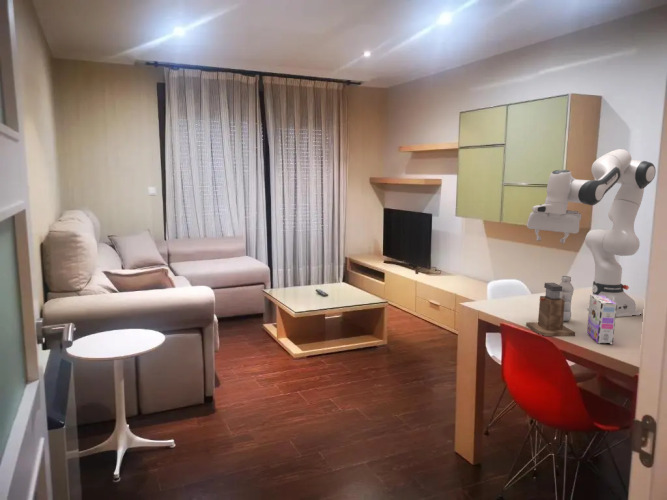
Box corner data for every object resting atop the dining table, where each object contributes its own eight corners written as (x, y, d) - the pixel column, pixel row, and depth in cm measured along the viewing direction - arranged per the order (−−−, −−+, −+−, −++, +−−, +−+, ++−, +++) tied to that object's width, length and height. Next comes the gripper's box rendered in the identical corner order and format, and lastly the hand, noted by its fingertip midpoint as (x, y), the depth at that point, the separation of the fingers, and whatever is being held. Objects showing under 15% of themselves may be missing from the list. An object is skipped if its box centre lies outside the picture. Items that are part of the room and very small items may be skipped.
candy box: (613, 345, 194) (617, 303, 191) (597, 343, 195) (601, 302, 192) (601, 333, 207) (605, 294, 205) (586, 332, 208) (589, 294, 206)
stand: (557, 325, 218) (560, 293, 216) (574, 335, 204) (577, 302, 202) (525, 325, 217) (528, 294, 215) (541, 336, 203) (543, 302, 201)
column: (550, 324, 214) (554, 282, 211) (558, 329, 207) (562, 286, 204) (541, 324, 213) (544, 282, 211) (549, 329, 207) (552, 286, 204)
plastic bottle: (552, 318, 228) (555, 275, 225) (567, 318, 228) (571, 275, 225) (557, 322, 222) (561, 278, 219) (573, 322, 222) (577, 278, 219)
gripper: (580, 211, 211) (575, 243, 213) (528, 206, 215) (524, 238, 217) (584, 212, 205) (578, 245, 207) (531, 207, 209) (526, 240, 211)
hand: (550, 241), depth 212 cm, fingers open, 8 cm apart
